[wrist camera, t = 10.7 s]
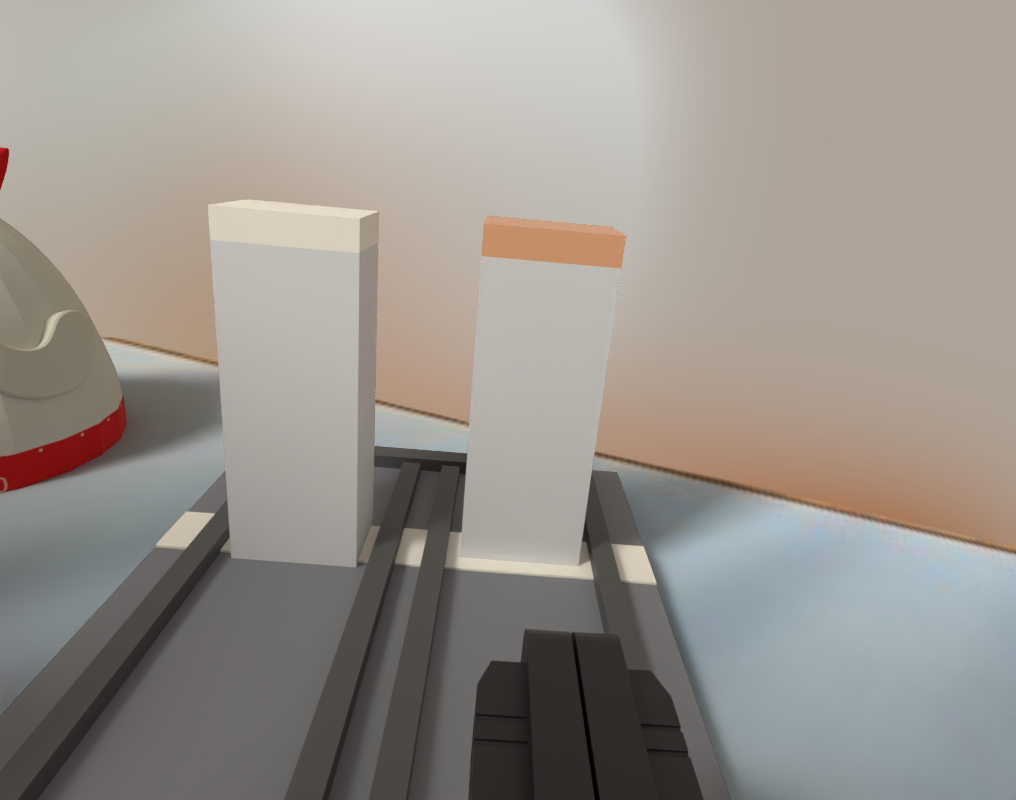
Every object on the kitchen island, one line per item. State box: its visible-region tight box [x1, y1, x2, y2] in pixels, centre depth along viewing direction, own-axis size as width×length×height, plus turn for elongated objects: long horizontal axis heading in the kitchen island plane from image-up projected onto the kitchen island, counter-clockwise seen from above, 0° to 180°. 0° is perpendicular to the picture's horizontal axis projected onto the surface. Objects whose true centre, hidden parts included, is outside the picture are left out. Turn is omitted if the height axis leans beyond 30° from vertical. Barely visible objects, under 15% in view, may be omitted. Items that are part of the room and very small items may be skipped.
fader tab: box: [460, 216, 626, 566], centre depth 24 cm, size 4×3×12 cm
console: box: [0, 199, 731, 800], centre depth 19 cm, size 18×25×13 cm
